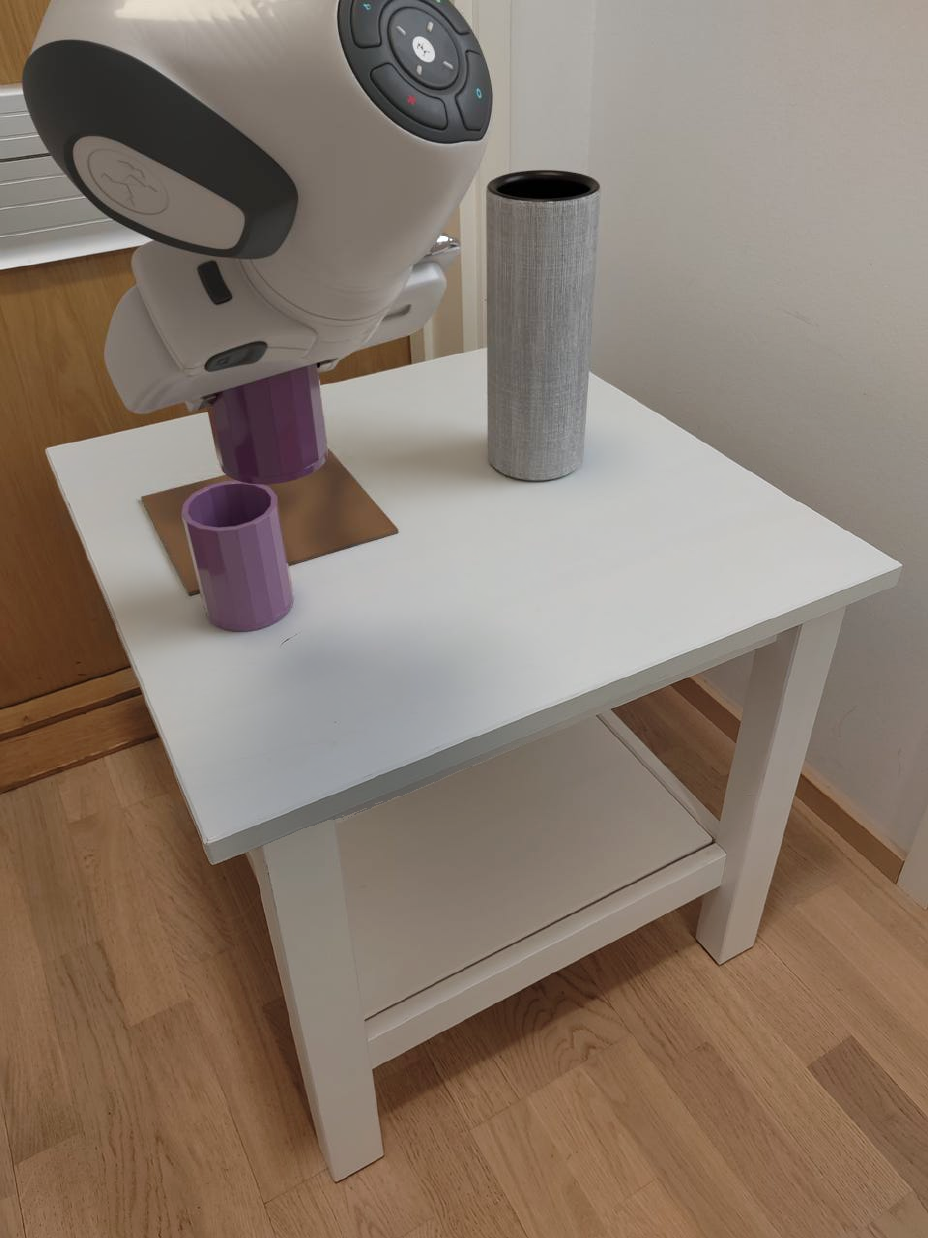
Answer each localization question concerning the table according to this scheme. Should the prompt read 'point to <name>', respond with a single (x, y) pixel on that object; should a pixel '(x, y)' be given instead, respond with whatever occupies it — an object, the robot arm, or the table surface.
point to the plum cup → (271, 428)
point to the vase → (539, 319)
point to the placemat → (285, 516)
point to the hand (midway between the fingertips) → (257, 380)
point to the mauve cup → (239, 554)
